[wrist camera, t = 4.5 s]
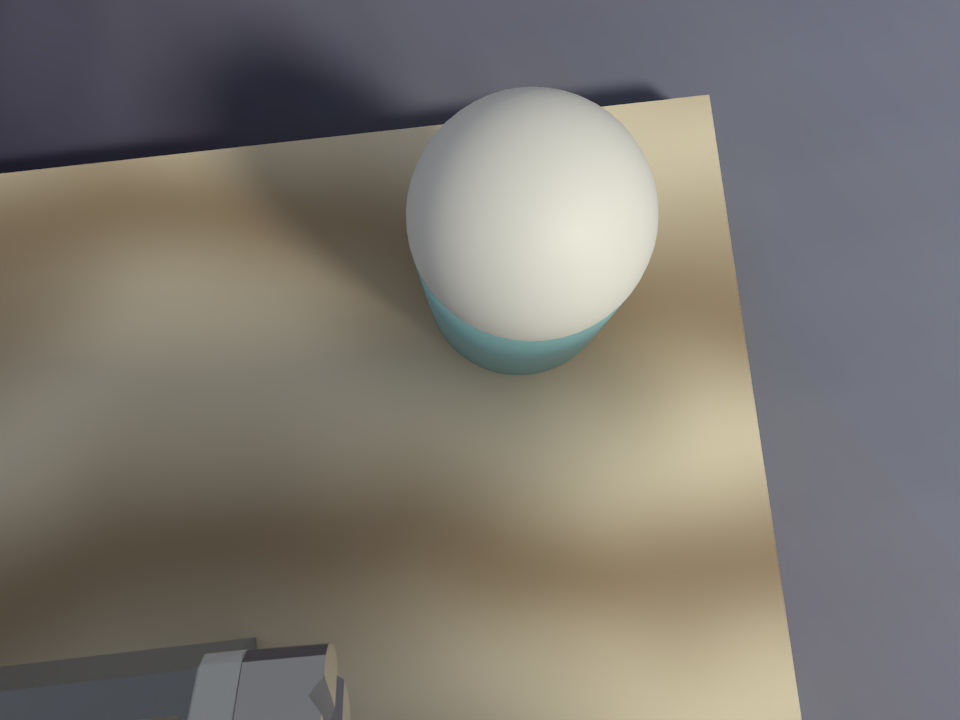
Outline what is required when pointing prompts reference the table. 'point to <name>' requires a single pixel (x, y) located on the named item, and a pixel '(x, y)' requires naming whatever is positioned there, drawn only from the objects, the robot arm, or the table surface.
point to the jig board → (379, 444)
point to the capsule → (529, 226)
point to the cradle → (108, 684)
